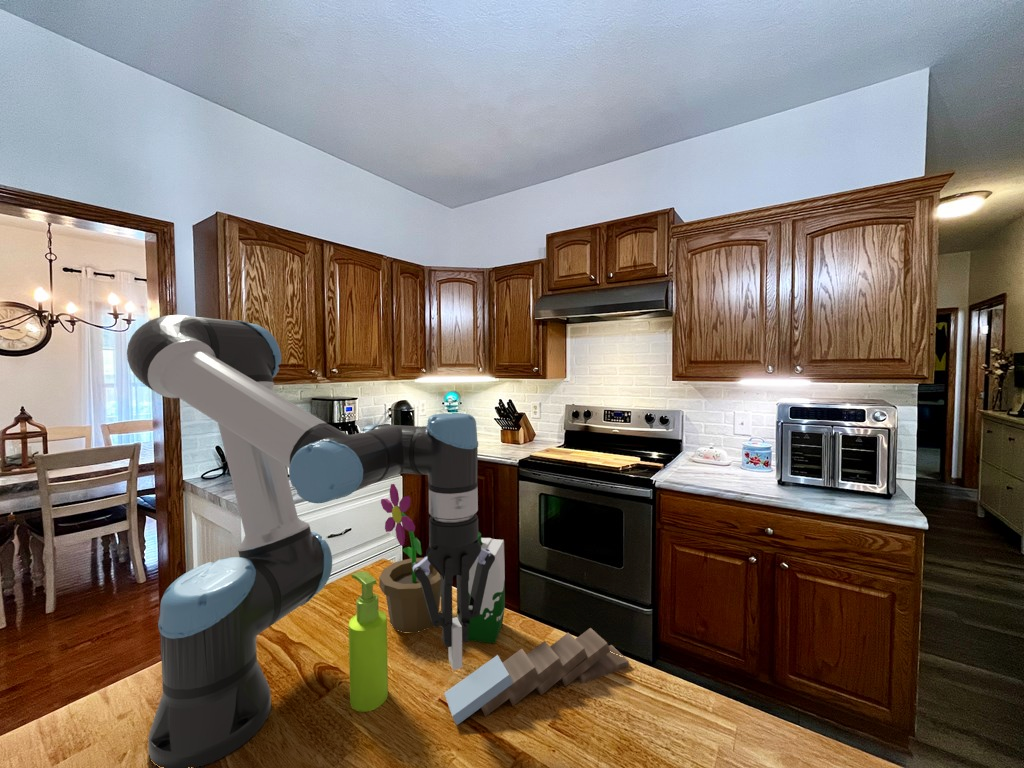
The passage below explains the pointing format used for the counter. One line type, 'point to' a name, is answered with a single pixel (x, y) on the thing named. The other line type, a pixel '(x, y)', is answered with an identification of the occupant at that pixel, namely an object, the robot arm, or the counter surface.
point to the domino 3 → (539, 669)
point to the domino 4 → (564, 660)
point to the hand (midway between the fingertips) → (455, 663)
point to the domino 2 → (513, 679)
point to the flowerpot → (406, 573)
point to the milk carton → (489, 595)
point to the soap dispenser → (368, 649)
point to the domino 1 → (477, 689)
